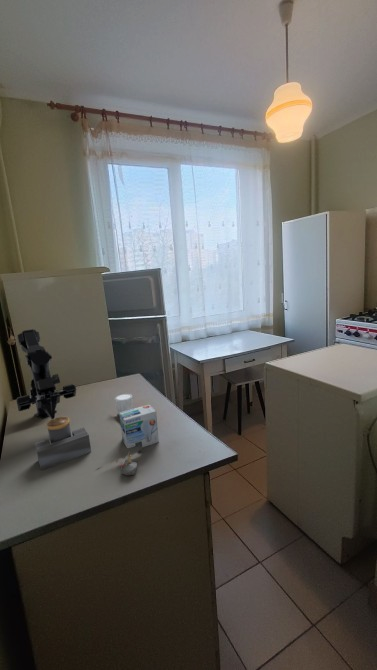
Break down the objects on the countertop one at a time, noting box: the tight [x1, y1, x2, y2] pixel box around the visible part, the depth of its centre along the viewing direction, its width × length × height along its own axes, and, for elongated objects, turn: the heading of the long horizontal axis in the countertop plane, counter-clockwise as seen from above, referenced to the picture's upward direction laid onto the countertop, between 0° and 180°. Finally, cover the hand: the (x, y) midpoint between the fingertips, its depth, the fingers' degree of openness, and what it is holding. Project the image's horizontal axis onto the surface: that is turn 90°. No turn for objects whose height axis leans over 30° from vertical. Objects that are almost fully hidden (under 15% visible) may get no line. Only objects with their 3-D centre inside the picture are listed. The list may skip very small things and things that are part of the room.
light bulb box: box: [119, 404, 160, 449], centre depth 95 cm, size 11×7×11 cm, turn 118°
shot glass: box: [114, 393, 134, 417], centre depth 117 cm, size 7×7×7 cm
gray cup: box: [45, 416, 72, 444], centre depth 90 cm, size 6×6×10 cm
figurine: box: [120, 451, 138, 476], centre depth 81 cm, size 5×4×6 cm
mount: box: [34, 427, 92, 471], centre depth 93 cm, size 18×16×7 cm
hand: (53, 419), depth 100 cm, fingers closed
